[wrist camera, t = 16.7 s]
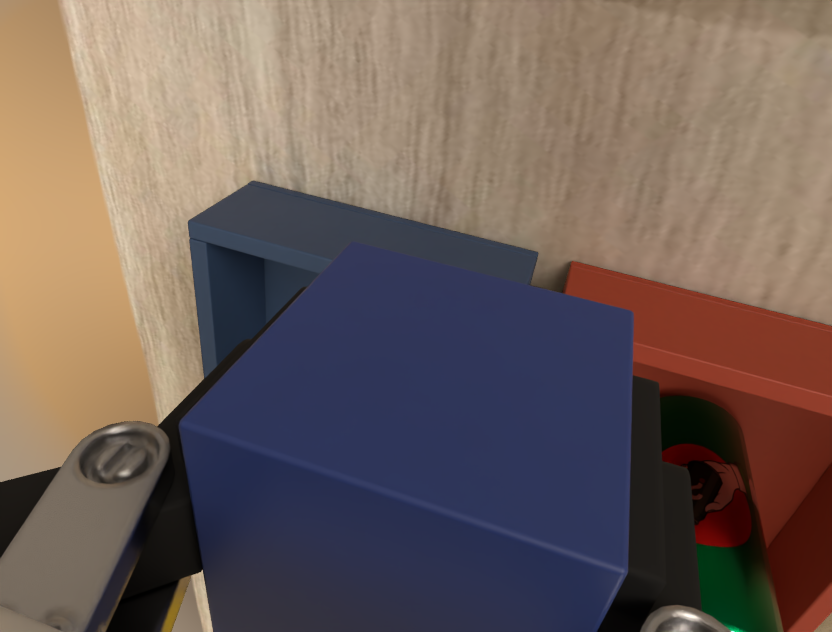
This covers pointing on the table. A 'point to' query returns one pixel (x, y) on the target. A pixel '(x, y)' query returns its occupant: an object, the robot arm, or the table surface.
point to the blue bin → (305, 256)
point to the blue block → (417, 457)
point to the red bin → (748, 411)
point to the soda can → (722, 513)
